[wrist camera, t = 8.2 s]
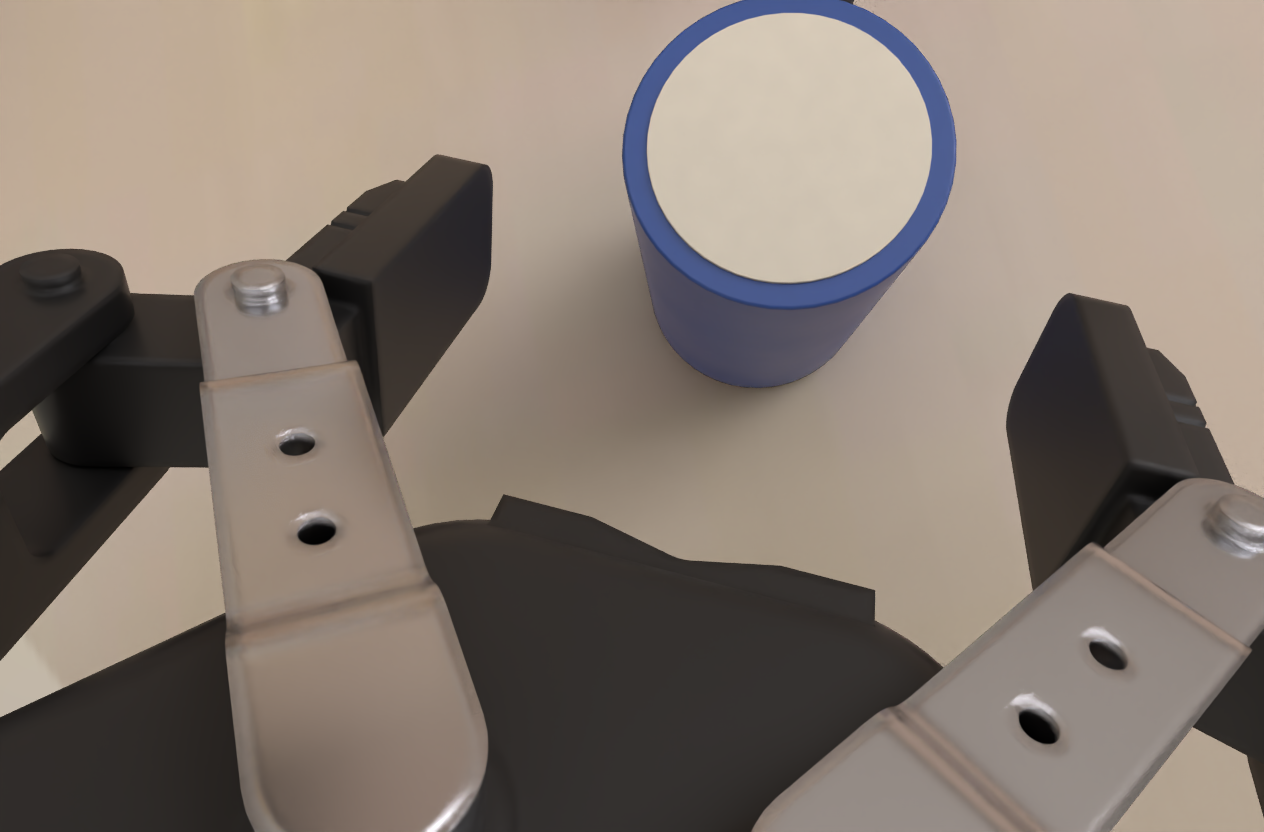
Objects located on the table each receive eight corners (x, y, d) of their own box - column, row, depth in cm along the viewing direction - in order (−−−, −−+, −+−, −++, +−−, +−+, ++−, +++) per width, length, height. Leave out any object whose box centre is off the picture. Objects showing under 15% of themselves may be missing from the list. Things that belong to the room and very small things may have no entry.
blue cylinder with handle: (927, 21, 22) (1055, -264, 14) (836, 410, 21) (918, 342, 13) (726, -18, 23) (739, -312, 15) (627, 360, 22) (585, 266, 14)
